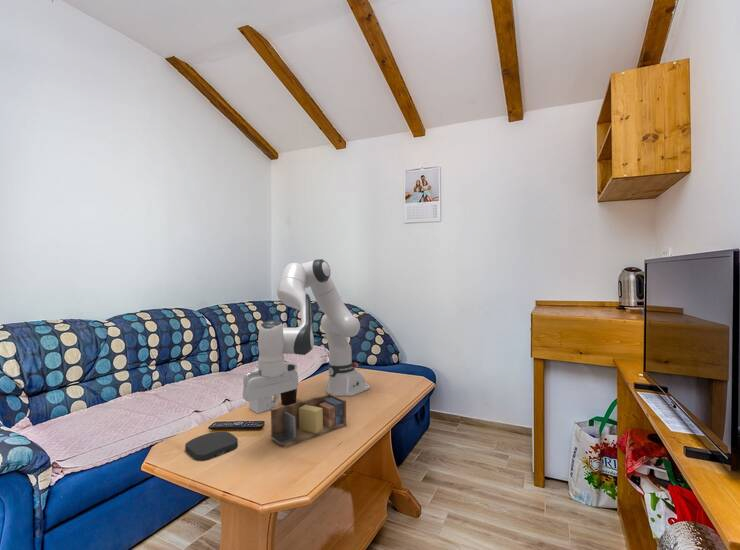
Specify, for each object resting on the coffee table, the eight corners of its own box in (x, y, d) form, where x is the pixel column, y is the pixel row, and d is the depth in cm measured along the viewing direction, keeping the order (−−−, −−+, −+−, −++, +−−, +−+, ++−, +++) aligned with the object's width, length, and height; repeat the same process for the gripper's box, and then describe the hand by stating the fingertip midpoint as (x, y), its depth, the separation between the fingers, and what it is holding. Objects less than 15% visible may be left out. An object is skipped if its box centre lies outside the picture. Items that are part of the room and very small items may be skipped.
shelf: (330, 417, 153) (329, 393, 153) (346, 425, 145) (345, 400, 145) (271, 437, 136) (270, 410, 136) (286, 447, 128) (285, 418, 128)
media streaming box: (181, 449, 129) (181, 441, 128) (222, 435, 139) (222, 427, 139) (199, 464, 119) (198, 455, 118) (242, 448, 129) (241, 439, 129)
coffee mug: (291, 407, 165) (291, 385, 165) (275, 405, 168) (274, 383, 168) (305, 398, 176) (304, 377, 176) (289, 397, 179) (289, 376, 179)
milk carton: (264, 405, 169) (263, 363, 169) (272, 409, 164) (271, 366, 163) (249, 409, 164) (248, 366, 164) (257, 413, 159) (256, 369, 158)
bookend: (284, 432, 138) (284, 410, 138) (295, 439, 132) (295, 417, 132) (270, 437, 134) (269, 415, 134) (280, 444, 128) (280, 421, 128)
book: (305, 425, 144) (305, 404, 144) (322, 429, 140) (322, 408, 140) (299, 429, 140) (298, 408, 140) (316, 433, 137) (316, 411, 136)
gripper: (248, 375, 120) (248, 418, 121) (300, 364, 135) (300, 402, 135) (239, 372, 125) (239, 413, 125) (290, 361, 140) (291, 398, 140)
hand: (271, 407), depth 130 cm, fingers closed
